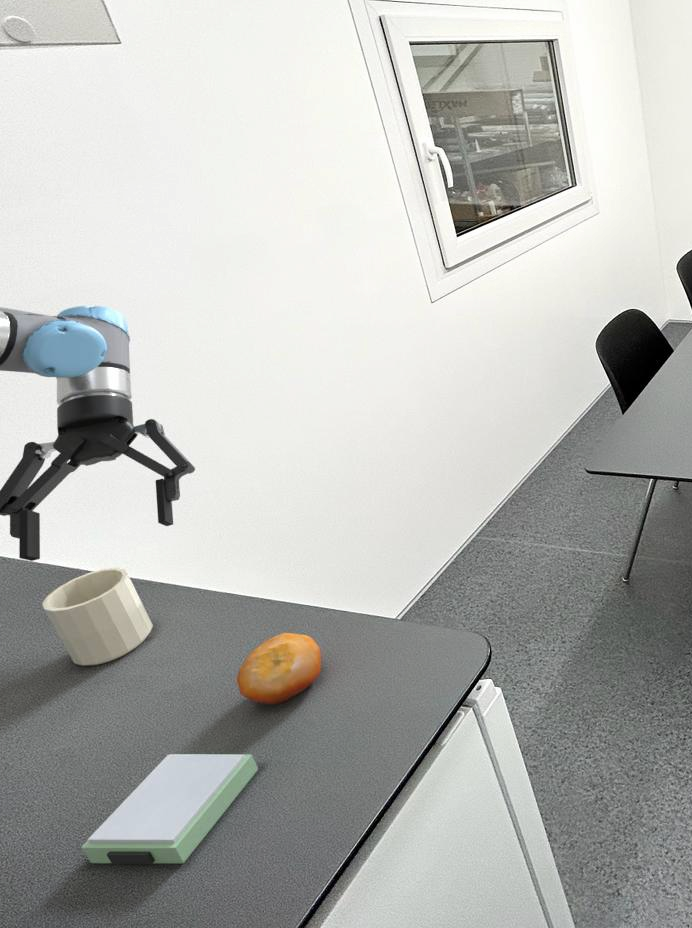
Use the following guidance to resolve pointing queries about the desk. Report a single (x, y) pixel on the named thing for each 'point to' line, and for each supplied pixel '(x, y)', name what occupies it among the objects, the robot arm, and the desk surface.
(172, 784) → the scale
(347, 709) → the desk surface
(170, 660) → the desk surface
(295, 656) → the fruit
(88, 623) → the cream faceted cup
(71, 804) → the desk surface
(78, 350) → the robot arm
